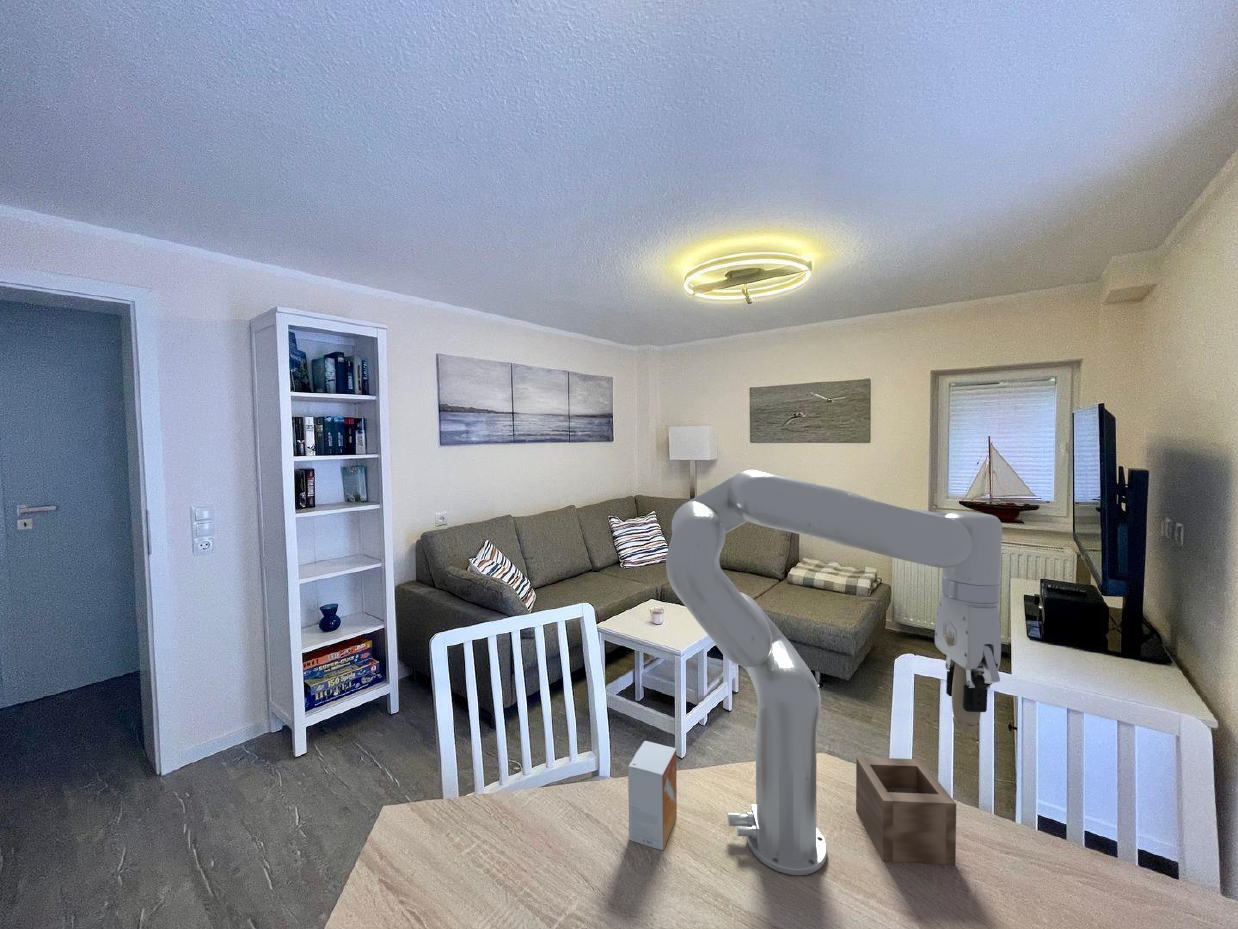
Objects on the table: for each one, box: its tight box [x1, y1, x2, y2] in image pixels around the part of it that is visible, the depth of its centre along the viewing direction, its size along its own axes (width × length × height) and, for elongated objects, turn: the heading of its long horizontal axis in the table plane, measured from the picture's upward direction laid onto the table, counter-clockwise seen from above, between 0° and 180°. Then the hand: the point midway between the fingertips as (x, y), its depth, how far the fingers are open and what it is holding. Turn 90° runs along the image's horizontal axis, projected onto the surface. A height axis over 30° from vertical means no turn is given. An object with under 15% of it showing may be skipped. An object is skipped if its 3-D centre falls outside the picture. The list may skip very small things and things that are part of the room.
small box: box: [627, 740, 678, 851], centre depth 87 cm, size 8×6×13 cm
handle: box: [945, 633, 982, 734], centre depth 80 cm, size 5×6×15 cm
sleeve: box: [855, 756, 957, 866], centre depth 85 cm, size 11×11×10 cm
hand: (965, 702), depth 81 cm, fingers closed on handle, 3 cm apart
